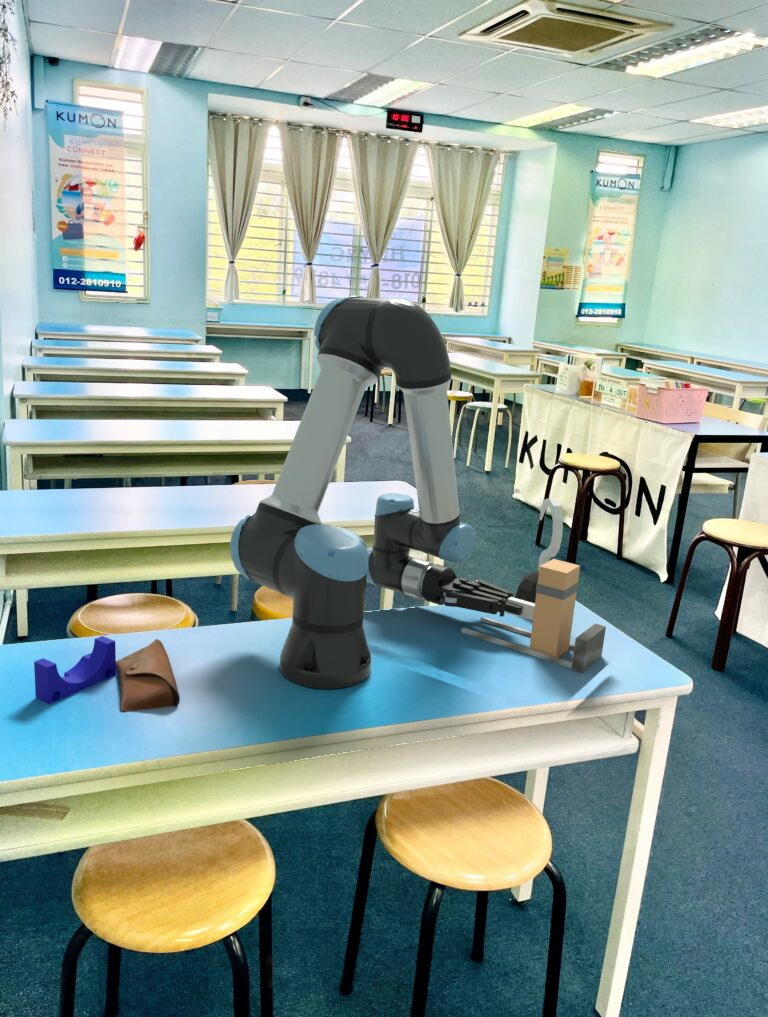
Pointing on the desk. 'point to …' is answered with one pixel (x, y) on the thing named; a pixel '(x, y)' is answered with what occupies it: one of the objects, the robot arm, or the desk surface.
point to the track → (583, 657)
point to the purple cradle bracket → (75, 672)
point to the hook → (530, 580)
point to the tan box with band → (554, 607)
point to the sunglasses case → (147, 679)
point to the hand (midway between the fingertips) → (540, 613)
